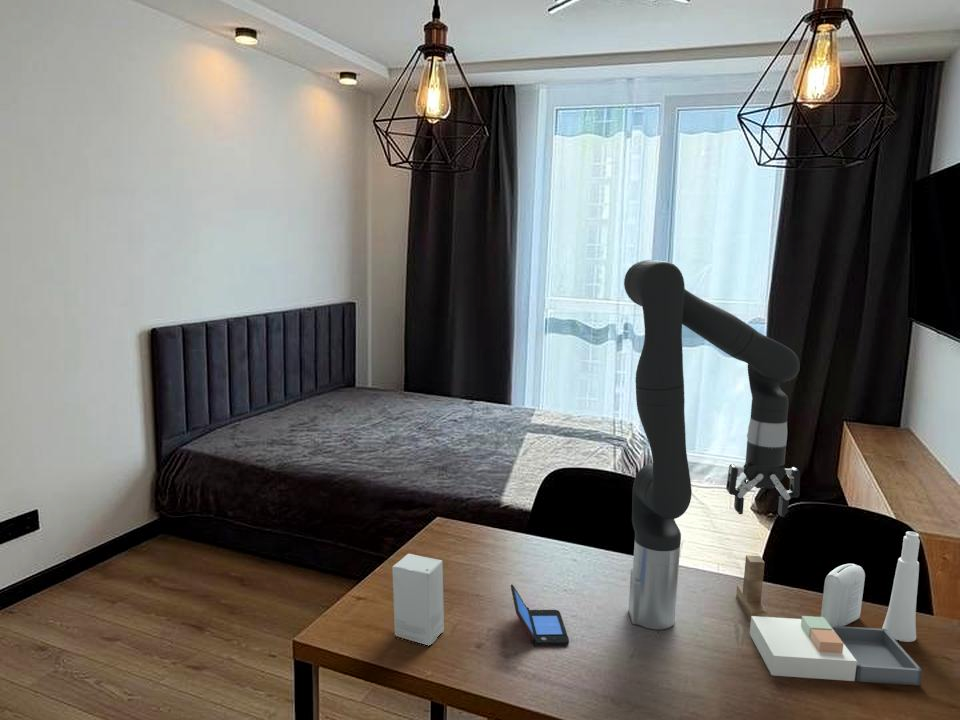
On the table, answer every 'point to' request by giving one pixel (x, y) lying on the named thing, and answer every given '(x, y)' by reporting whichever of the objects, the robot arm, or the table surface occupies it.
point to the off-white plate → (797, 651)
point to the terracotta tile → (826, 641)
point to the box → (879, 656)
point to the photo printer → (843, 595)
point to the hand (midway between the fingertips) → (760, 514)
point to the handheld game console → (541, 624)
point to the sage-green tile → (814, 624)
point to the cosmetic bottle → (904, 592)
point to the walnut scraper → (752, 588)
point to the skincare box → (418, 598)
